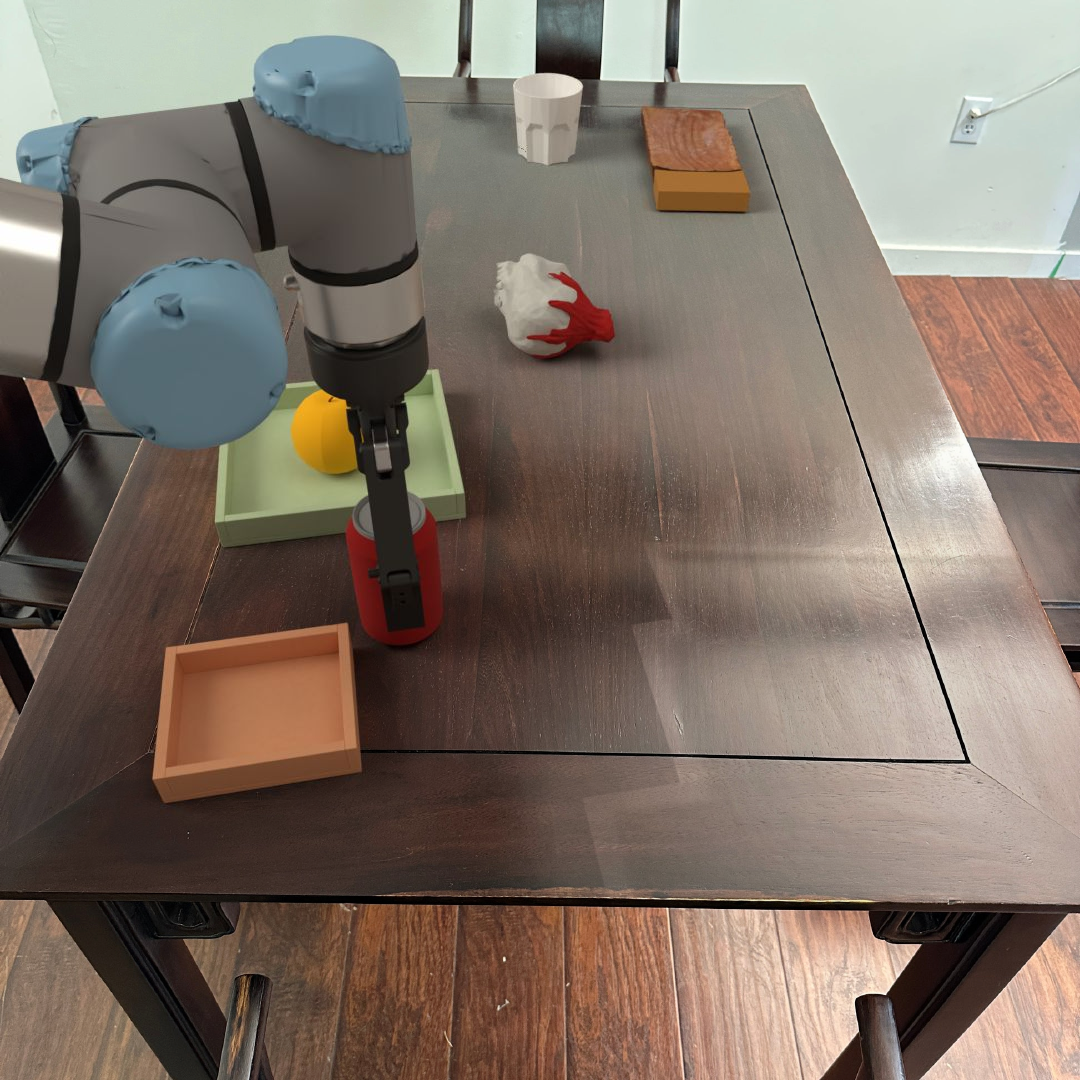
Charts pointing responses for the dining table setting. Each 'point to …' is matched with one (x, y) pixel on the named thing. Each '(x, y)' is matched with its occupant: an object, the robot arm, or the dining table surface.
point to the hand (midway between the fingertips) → (397, 559)
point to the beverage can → (369, 589)
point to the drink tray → (257, 713)
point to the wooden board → (693, 161)
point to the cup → (547, 116)
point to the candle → (547, 308)
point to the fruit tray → (327, 474)
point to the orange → (324, 434)
